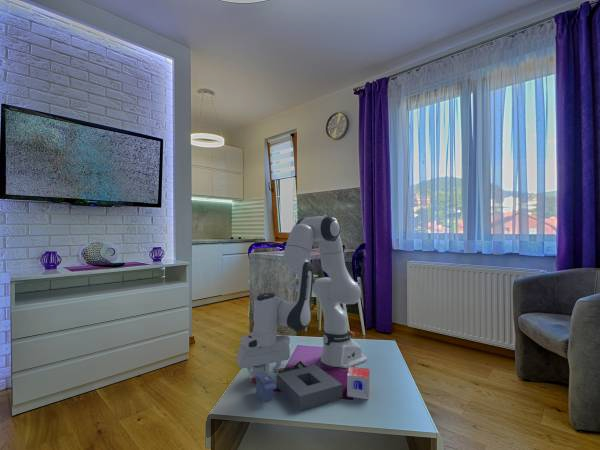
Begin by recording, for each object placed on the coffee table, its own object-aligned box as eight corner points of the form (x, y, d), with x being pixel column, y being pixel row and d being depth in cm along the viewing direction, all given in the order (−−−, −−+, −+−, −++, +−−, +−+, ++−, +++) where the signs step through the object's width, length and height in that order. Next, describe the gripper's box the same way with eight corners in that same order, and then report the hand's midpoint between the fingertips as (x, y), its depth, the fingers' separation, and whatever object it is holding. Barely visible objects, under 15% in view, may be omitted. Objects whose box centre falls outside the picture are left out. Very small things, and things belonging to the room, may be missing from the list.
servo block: (263, 387, 123) (263, 367, 123) (276, 403, 112) (276, 382, 112) (253, 389, 121) (253, 370, 121) (266, 406, 110) (266, 384, 110)
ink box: (263, 383, 126) (263, 354, 126) (251, 382, 127) (252, 353, 127) (269, 374, 134) (269, 346, 134) (258, 373, 135) (259, 345, 135)
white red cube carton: (369, 389, 123) (369, 368, 123) (368, 399, 115) (368, 377, 115) (348, 386, 125) (348, 366, 125) (346, 396, 117) (347, 375, 117)
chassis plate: (315, 376, 132) (315, 364, 132) (342, 398, 116) (342, 384, 116) (276, 386, 124) (276, 373, 124) (299, 411, 107) (299, 396, 107)
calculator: (276, 371, 138) (276, 364, 138) (301, 367, 142) (301, 360, 142) (283, 380, 129) (283, 373, 129) (309, 376, 133) (309, 369, 133)
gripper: (286, 331, 124) (285, 366, 124) (236, 338, 114) (234, 377, 114) (293, 336, 119) (292, 373, 118) (241, 344, 109) (240, 384, 109)
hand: (263, 375), depth 116 cm, fingers open, 8 cm apart
